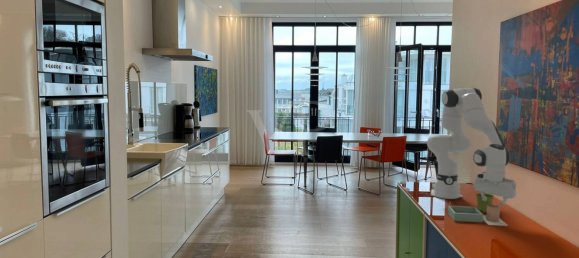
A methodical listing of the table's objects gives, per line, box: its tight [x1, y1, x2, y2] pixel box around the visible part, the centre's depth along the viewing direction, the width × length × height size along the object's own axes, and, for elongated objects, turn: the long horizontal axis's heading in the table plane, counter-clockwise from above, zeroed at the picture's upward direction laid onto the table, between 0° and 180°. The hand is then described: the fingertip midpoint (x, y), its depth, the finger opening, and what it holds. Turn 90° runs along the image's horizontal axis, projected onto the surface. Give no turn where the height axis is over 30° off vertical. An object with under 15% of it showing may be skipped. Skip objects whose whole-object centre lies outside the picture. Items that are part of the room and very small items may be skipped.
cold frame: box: [447, 205, 484, 223], centre depth 220 cm, size 14×14×4 cm
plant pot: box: [475, 192, 495, 213], centre depth 232 cm, size 9×9×9 cm
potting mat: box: [483, 214, 509, 227], centre depth 215 cm, size 16×9×1 cm, turn 171°
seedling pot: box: [485, 203, 501, 222], centre depth 215 cm, size 6×6×8 cm
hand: (493, 202), depth 215 cm, fingers open, 8 cm apart
